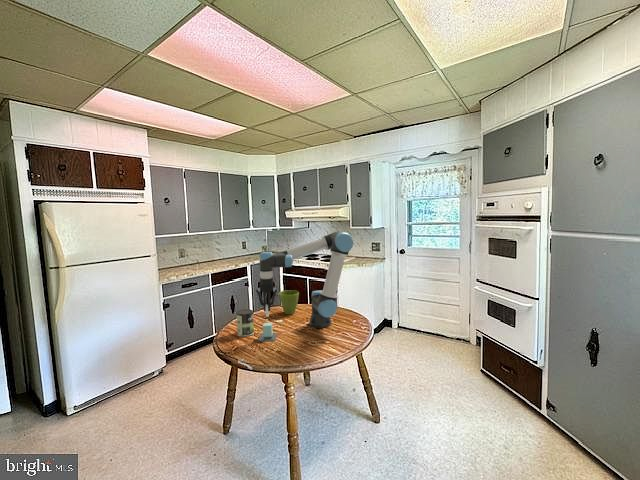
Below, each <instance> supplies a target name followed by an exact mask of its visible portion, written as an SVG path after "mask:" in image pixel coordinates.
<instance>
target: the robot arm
mask: <svg viewBox="0 0 640 480" xmlns="http://www.w3.org/2000/svg"><path fill="white" fill-rule="evenodd" d="M353 247H354V239H353V237H352V235H351V234H350V233H347V232H343V231H334V232H331V233H329V234H327V235H324V236H322V237H321V238H320V239H319V238H318V239H316V240H314V241H310V242H307V243H304V244H300V245H298V246H295V247H292V248H289V249H286V250H283V251H282V250H281V251H277V252H276V253H274V254H273V252H272V251H262V252H260V254H259V277H260V280H259V281H260V282H259V283H260V284H259V287H258V288H257V289H255V291H256V294H257V296H258V299H259V300H258V301H259V304H260V306H263V311H264V312H265V318H268V317H269V316H270V313H269V312H271V307H272V306H273V305H274V303H275V297H276V294H277V292H278V288H276V287H275V286H274V278H273V277H274V268H290V267H292V266H293V264H294V263H293V261H294V260H297V259H300V258H303V257H306V256H309V255H312V254H315V253H318V252H320V251H324V250H325V251H330V253H331V257H330V260H329V265H328V268H327V273H326V275H325V280H324V285H323V289H322V290H313V291H312V292H311V315H310V316H309V317H310V318H309V321H308V323H309V326H310V327H313V328H318V329H319V328H320V329H324V327H325V328H328V326H329V327H331V326H332V324H331V323H332V316H335V314H336V313H337V311H338V305H337V304H338V303H337V301H338V295H337V291H338V287H339V283H340V279H341V275H342V270H343V267H344V262H345V259H346V258H347V257H348V256H349V251H351V250H352V248H353ZM261 292H262V293H261ZM271 292H273V294H272V296H271ZM262 295H263V297H262ZM271 297H272V298H271Z"/></svg>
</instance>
